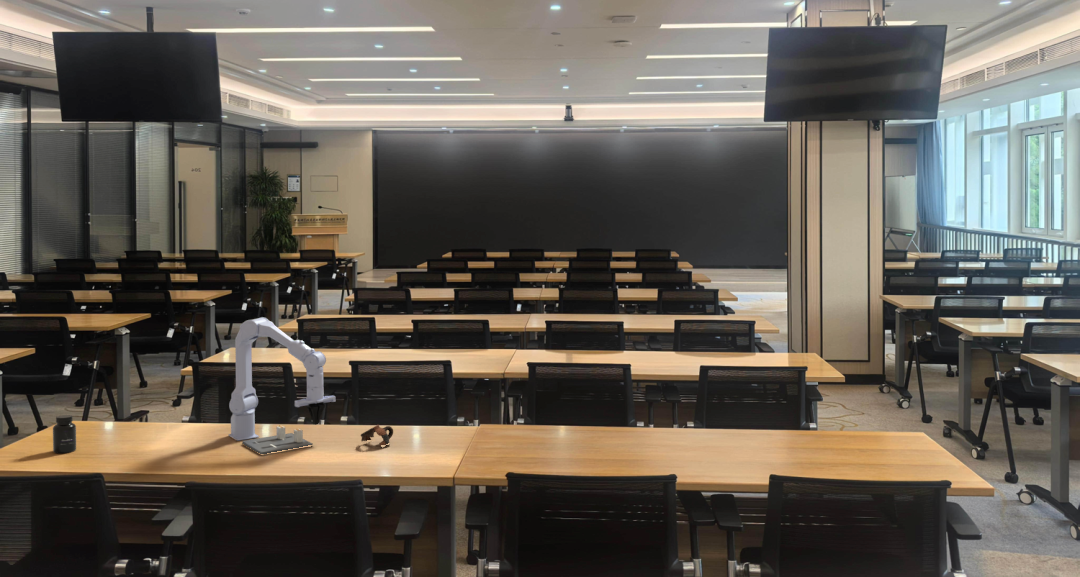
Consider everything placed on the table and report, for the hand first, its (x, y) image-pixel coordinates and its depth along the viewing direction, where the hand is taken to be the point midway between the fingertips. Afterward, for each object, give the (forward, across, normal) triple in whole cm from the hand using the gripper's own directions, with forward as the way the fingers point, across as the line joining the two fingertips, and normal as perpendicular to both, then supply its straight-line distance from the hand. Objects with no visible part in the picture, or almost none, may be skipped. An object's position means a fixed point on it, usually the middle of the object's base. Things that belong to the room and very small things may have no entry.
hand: (315, 424), depth 291 cm
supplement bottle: (+6, -72, +41) cm, 83 cm away
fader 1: (+5, -10, +8) cm, 14 cm away
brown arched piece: (+7, +16, -17) cm, 24 cm away
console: (+6, -13, +4) cm, 15 cm away
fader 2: (+5, -7, 0) cm, 8 cm away
